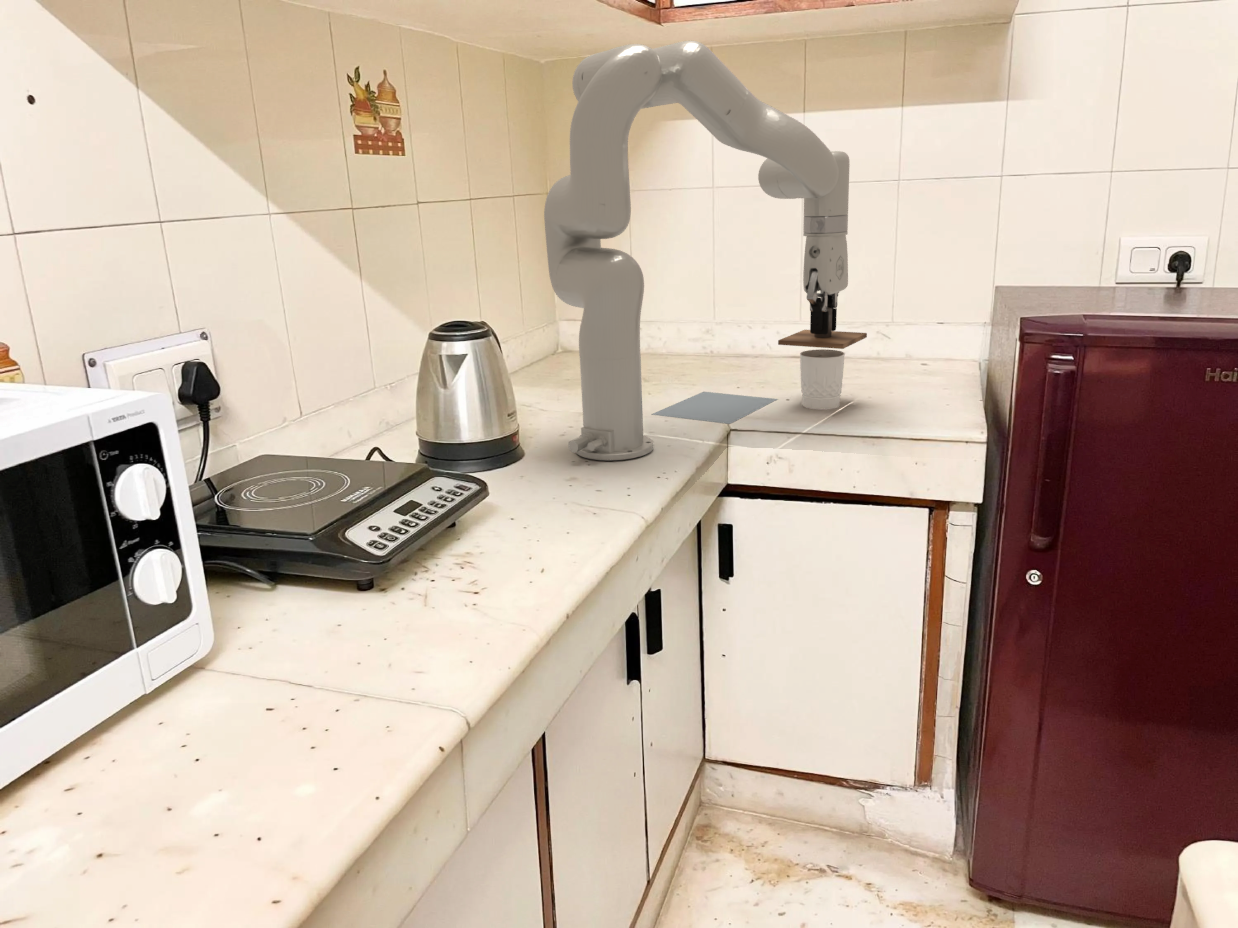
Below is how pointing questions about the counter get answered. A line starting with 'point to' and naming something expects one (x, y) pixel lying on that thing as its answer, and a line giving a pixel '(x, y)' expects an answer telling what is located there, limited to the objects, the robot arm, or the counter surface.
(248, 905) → the counter surface
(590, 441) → the robot arm
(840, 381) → the white cup
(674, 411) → the rubber mat
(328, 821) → the counter surface
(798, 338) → the walnut cover
